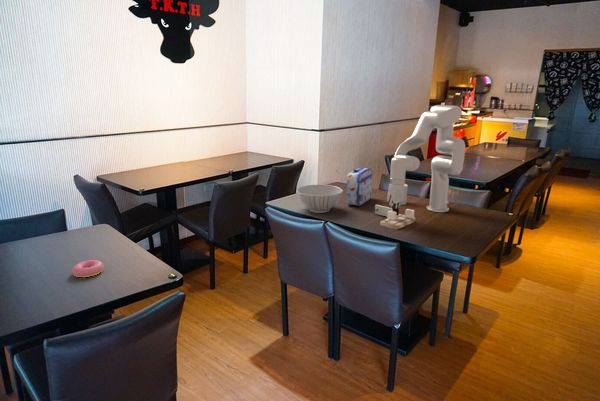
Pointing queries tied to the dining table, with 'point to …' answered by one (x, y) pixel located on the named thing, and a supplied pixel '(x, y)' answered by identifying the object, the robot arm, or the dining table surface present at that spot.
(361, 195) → the lunch box
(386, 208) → the rack door
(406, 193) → the can
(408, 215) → the fader
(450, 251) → the dining table surface
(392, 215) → the fader
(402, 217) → the console board
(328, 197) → the decorative bowl
